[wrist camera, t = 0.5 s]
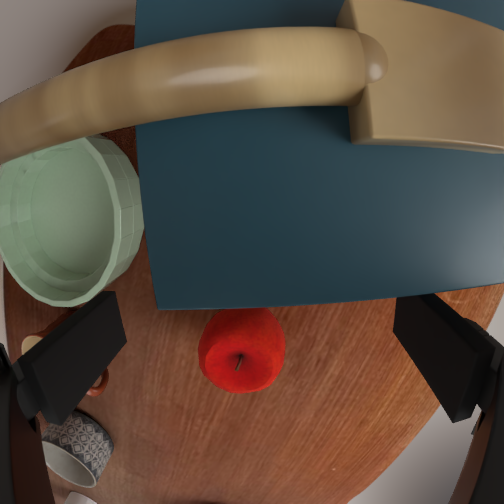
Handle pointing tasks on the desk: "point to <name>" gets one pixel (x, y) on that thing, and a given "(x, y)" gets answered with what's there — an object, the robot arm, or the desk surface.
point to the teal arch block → (305, 189)
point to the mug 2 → (78, 499)
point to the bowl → (70, 219)
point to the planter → (77, 449)
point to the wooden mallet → (290, 81)
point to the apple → (242, 349)
